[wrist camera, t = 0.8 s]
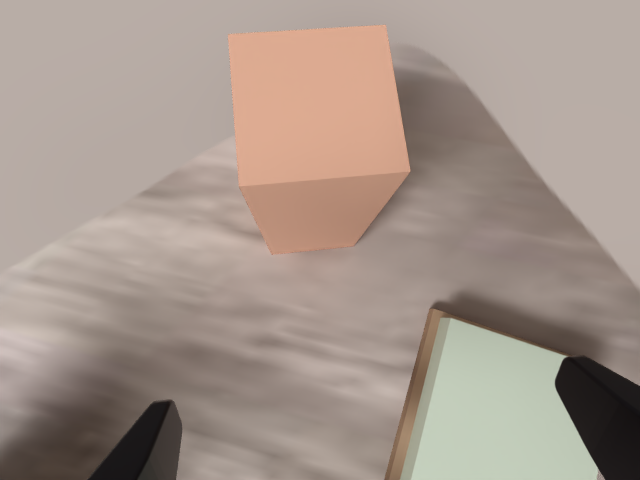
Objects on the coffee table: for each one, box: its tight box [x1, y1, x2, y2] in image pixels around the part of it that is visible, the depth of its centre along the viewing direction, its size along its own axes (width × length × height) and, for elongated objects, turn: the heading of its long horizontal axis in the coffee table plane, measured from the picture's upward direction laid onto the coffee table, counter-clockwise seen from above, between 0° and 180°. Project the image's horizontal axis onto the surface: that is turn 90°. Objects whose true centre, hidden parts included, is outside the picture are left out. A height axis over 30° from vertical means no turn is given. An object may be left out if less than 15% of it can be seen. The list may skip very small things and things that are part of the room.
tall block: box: [228, 25, 411, 255], centre depth 17 cm, size 5×5×12 cm
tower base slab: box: [384, 309, 572, 480], centre depth 21 cm, size 10×10×2 cm
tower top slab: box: [400, 318, 598, 480], centre depth 19 cm, size 9×9×2 cm
